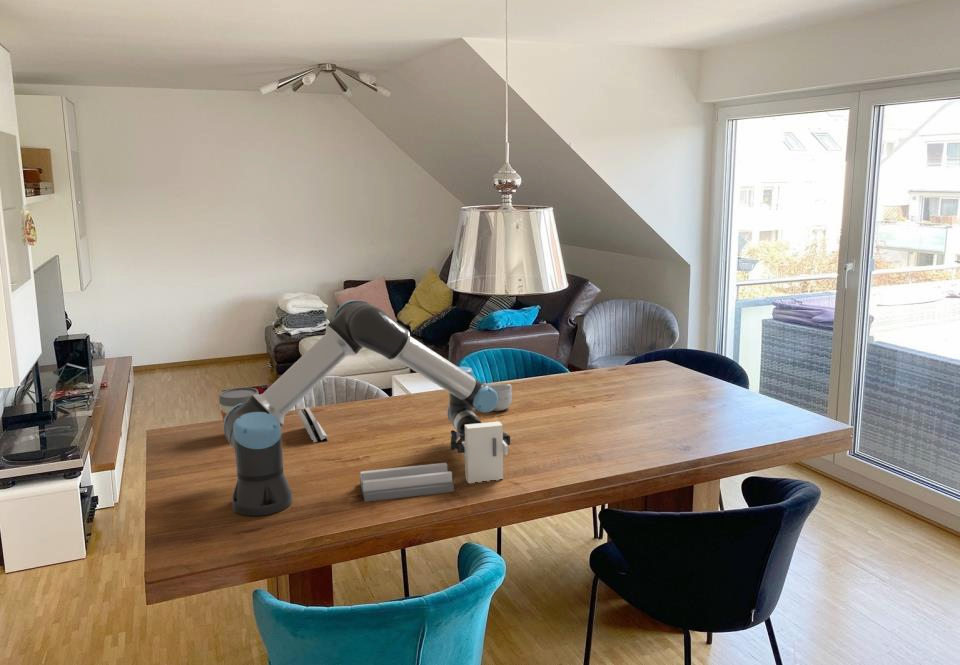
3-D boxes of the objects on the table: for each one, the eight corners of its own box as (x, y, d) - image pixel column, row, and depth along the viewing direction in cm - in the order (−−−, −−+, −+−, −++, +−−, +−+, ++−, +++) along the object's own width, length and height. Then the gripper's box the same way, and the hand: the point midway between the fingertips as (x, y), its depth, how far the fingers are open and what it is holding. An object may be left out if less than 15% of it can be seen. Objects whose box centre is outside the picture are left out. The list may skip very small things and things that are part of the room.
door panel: (469, 484, 212) (468, 429, 208) (465, 478, 216) (464, 424, 212) (503, 480, 214) (503, 426, 211) (499, 474, 218) (499, 421, 215)
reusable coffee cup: (221, 444, 245) (218, 399, 242) (223, 432, 257) (219, 389, 254) (262, 440, 249) (259, 396, 246) (261, 428, 260) (258, 385, 257)
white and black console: (329, 441, 247) (317, 414, 244) (316, 447, 246) (303, 421, 243) (319, 425, 262) (308, 400, 259) (306, 431, 261) (295, 406, 258)
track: (364, 501, 202) (364, 485, 201) (360, 484, 213) (359, 468, 212) (453, 491, 207) (453, 476, 206) (444, 474, 219) (444, 460, 218)
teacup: (495, 415, 271) (495, 393, 270) (476, 408, 279) (475, 387, 278) (524, 407, 280) (524, 386, 278) (504, 400, 288) (504, 380, 286)
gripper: (505, 434, 234) (527, 461, 213) (432, 442, 228) (447, 469, 207) (505, 411, 232) (527, 435, 211) (431, 418, 227) (447, 443, 206)
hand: (487, 452), depth 209 cm, fingers closed on door panel, 10 cm apart
